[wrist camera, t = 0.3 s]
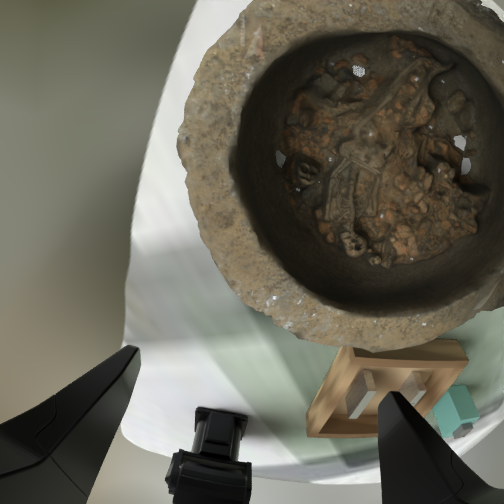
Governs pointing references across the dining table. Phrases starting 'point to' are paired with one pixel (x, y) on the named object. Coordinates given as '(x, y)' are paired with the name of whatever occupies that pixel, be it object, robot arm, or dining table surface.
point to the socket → (367, 389)
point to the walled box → (381, 384)
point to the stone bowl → (353, 166)
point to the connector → (456, 412)
